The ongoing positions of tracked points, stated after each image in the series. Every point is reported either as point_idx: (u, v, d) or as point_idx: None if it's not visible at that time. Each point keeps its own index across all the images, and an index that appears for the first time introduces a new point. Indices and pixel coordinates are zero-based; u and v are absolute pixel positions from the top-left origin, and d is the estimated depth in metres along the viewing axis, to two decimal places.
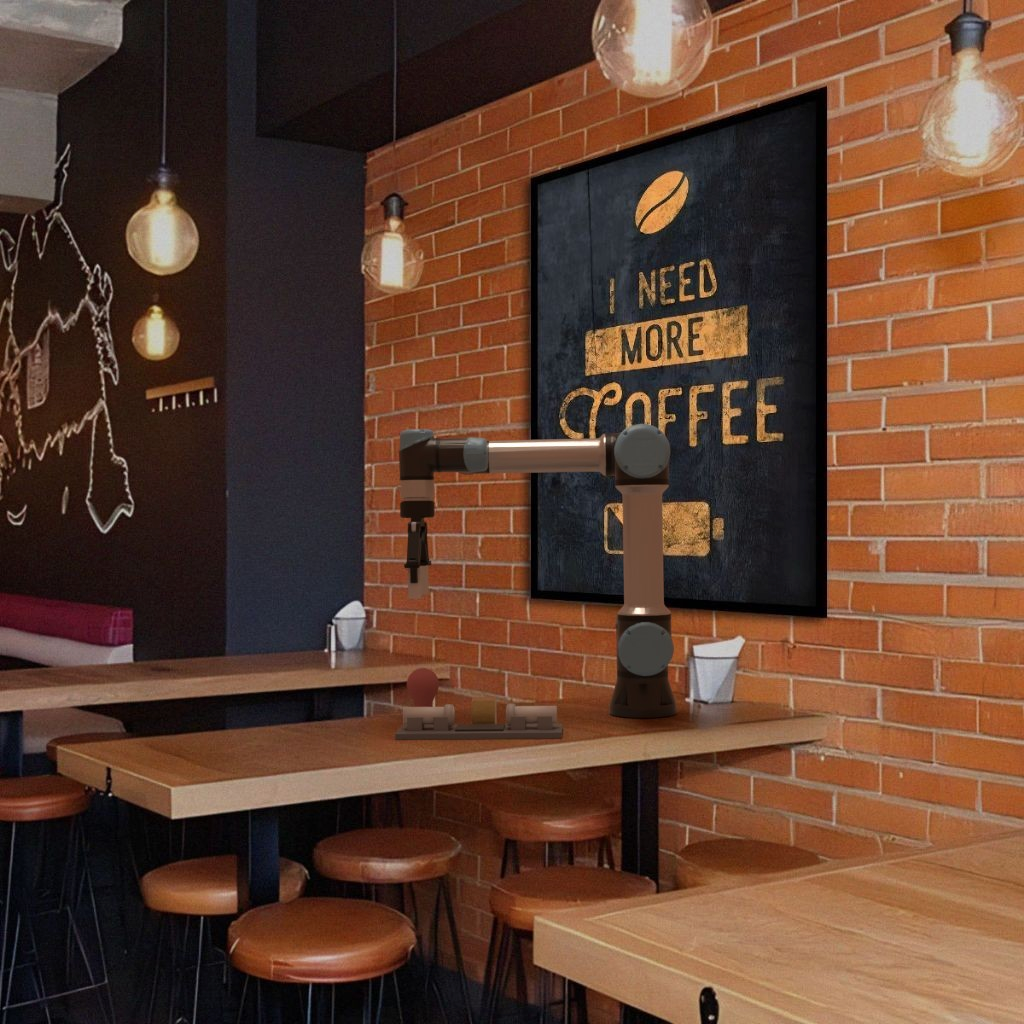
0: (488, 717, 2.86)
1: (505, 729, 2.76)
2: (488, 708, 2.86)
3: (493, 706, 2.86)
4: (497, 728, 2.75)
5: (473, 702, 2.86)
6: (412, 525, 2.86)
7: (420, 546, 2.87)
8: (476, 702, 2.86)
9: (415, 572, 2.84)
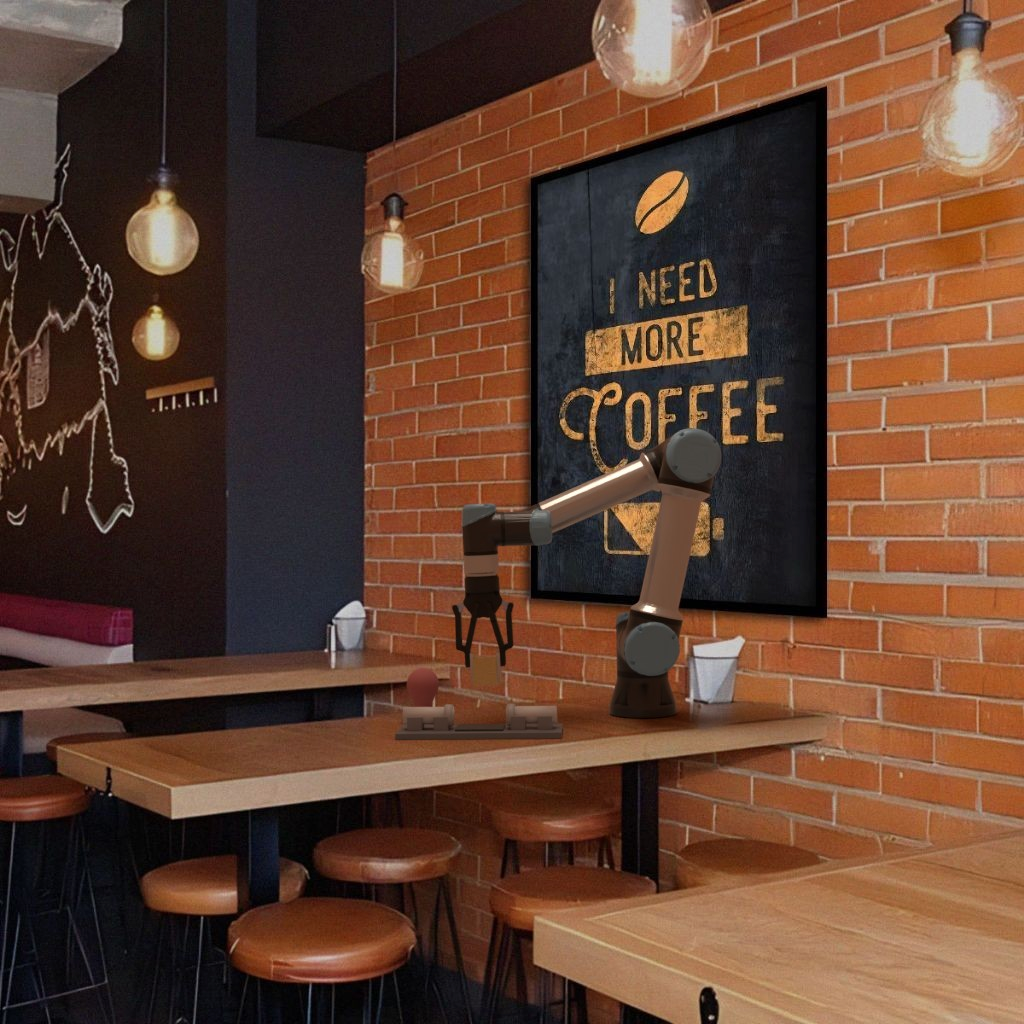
0: (490, 674, 2.86)
1: (505, 729, 2.76)
2: (490, 665, 2.86)
3: (495, 663, 2.86)
4: (497, 728, 2.75)
5: (474, 660, 2.86)
6: None
7: None
8: (477, 659, 2.86)
9: None
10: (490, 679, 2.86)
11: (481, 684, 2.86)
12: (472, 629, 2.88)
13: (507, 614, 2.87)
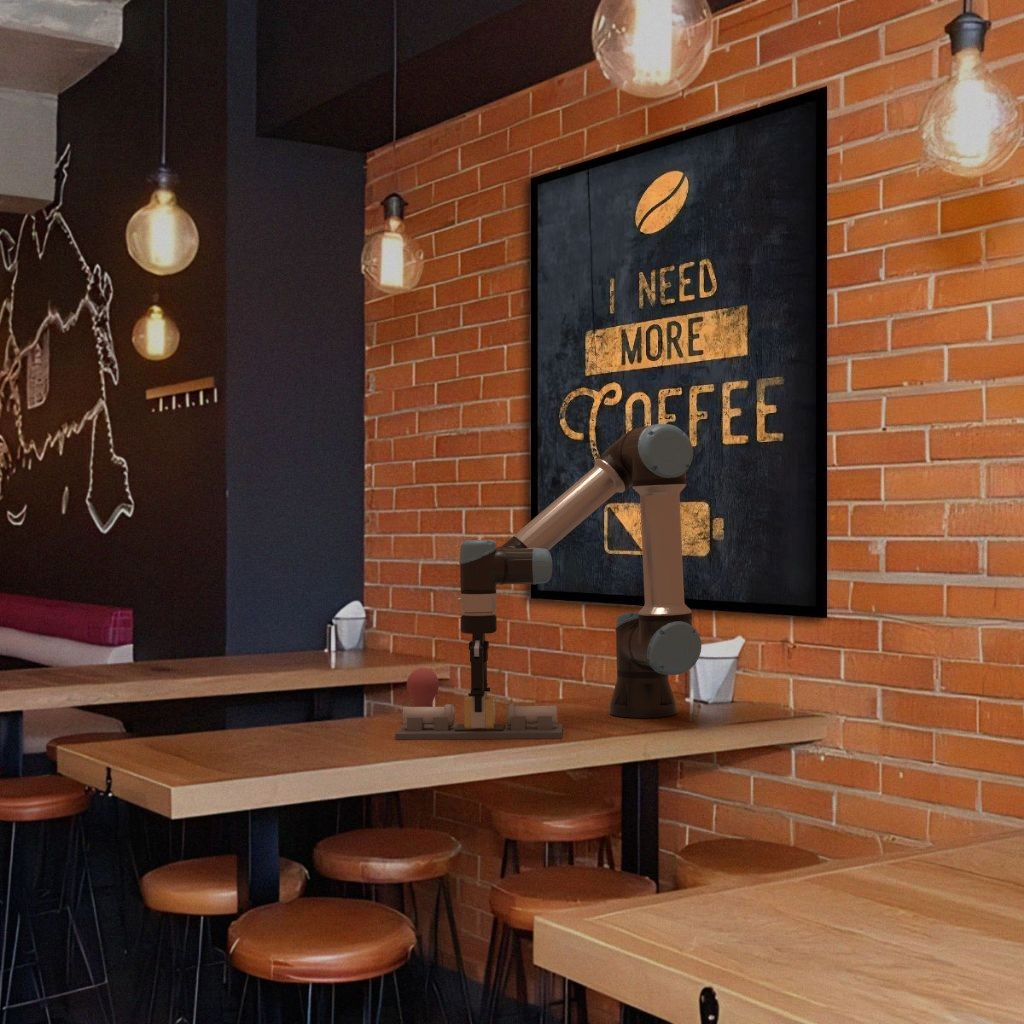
0: (494, 714, 2.79)
1: (505, 729, 2.76)
2: (494, 704, 2.79)
3: (494, 702, 2.80)
4: (497, 728, 2.75)
5: (493, 700, 2.76)
6: (475, 651, 2.71)
7: (483, 670, 2.75)
8: (493, 700, 2.76)
9: (479, 701, 2.73)
10: (494, 719, 2.79)
11: None
12: (484, 671, 2.75)
13: None
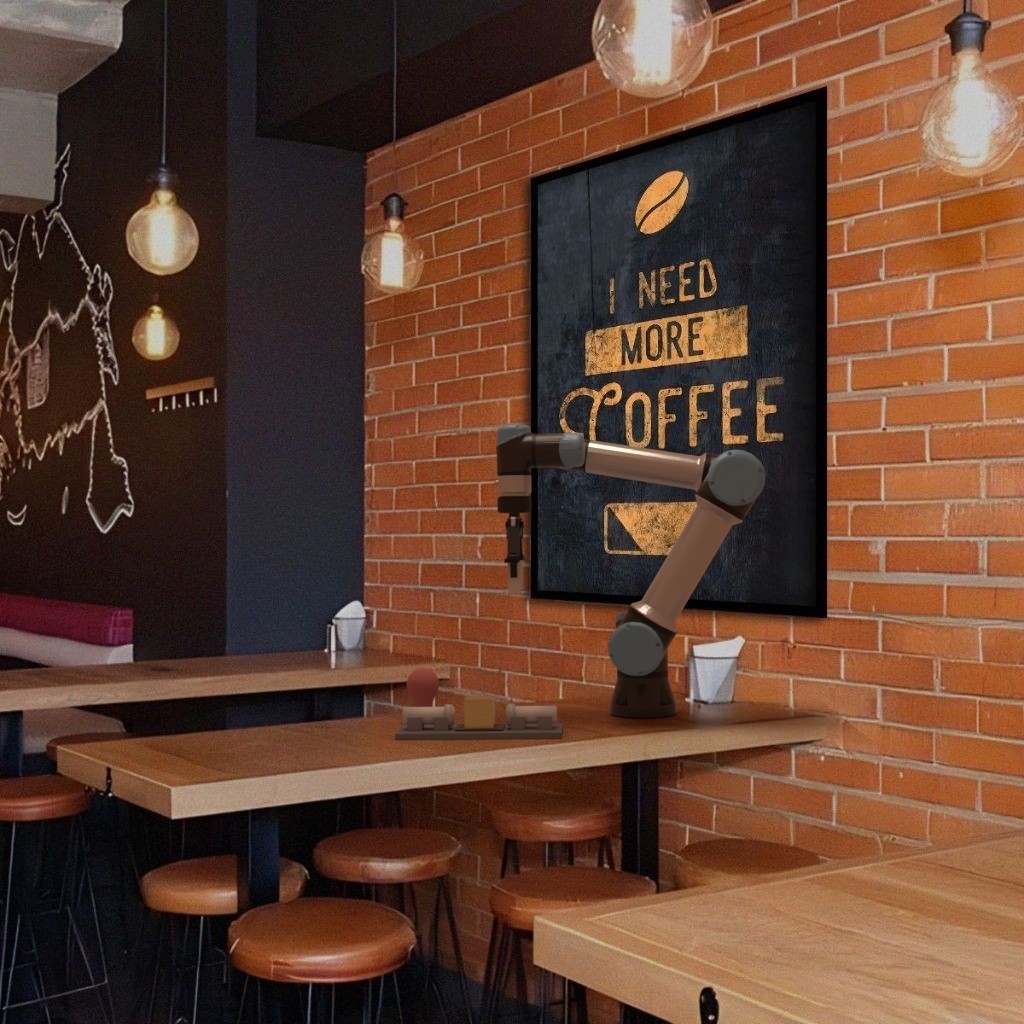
0: (494, 714, 2.79)
1: (505, 729, 2.76)
2: (494, 704, 2.79)
3: (494, 702, 2.80)
4: (497, 728, 2.75)
5: (493, 700, 2.76)
6: (511, 520, 2.88)
7: (519, 541, 2.89)
8: (493, 700, 2.76)
9: (515, 567, 2.86)
10: (494, 719, 2.79)
11: None
12: (519, 543, 2.90)
13: None
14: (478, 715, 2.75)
